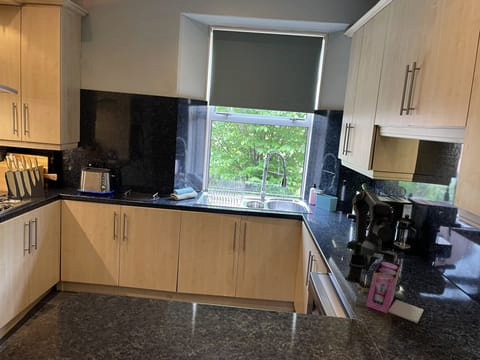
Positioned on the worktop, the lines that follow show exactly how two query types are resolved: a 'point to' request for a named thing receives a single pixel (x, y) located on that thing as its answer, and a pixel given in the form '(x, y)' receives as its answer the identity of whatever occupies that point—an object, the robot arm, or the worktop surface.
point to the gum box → (383, 286)
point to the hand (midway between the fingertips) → (367, 270)
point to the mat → (406, 311)
